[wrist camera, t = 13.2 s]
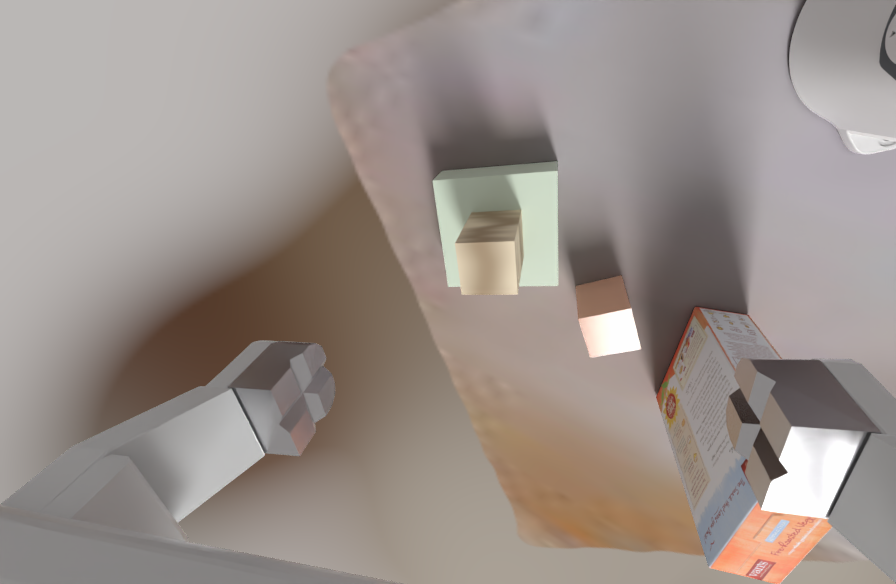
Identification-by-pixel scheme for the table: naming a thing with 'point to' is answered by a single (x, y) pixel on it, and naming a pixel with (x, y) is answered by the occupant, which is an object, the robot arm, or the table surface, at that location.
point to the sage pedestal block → (500, 192)
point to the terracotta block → (606, 317)
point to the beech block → (491, 253)
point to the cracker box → (726, 452)
